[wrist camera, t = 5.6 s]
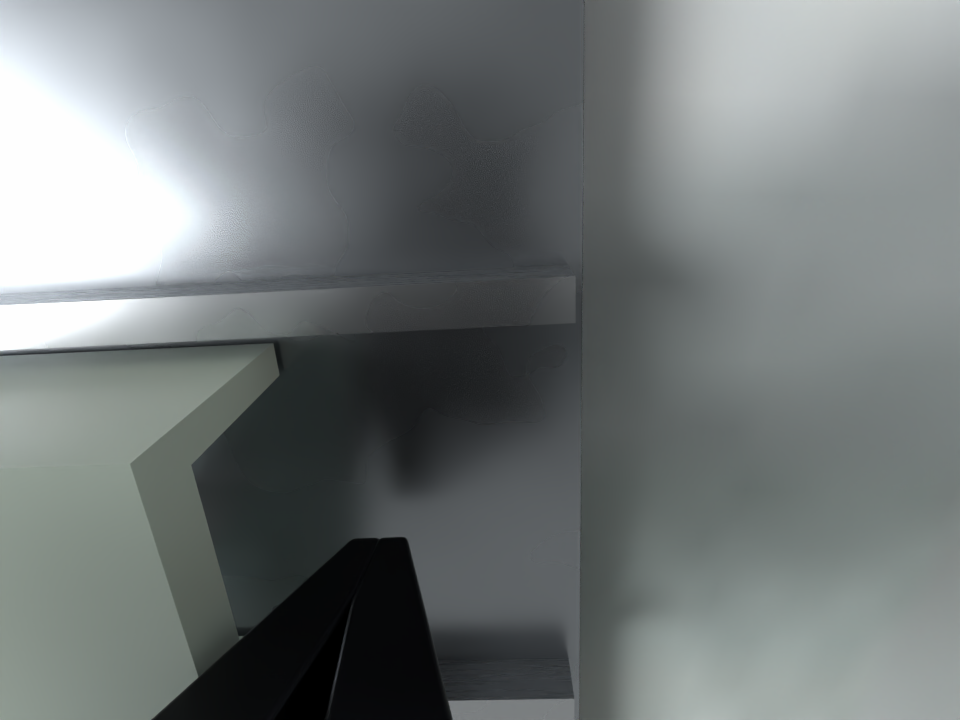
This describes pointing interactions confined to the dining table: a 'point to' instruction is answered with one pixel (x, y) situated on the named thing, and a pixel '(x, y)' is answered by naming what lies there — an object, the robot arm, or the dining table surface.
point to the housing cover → (112, 526)
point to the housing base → (334, 283)
